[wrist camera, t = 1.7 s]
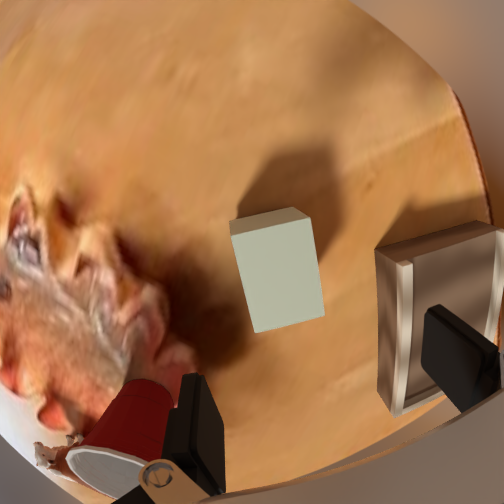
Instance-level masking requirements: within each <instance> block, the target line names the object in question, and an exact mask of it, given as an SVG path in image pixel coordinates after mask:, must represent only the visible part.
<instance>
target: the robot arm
mask: <svg viewBox="0 0 504 504" xmlns="http://www.w3.org/2000/svg"><path fill="white" fill-rule="evenodd" d="M498 348H499V347H497V346H496V345H495V344H494V343H492V342H491V341H490V340H488V339H487V338H486V337H484V336H483V335H482V334H481V333H479V332H478V331H477V330H475V329H474V328H473V327H471V326H470V325H469V324H467V323H466V322H465V321H463V320H462V319H460V318H459V317H458V316H456V315H455V314H454V313H452V312H451V311H449V310H448V309H447V308H445V307H444V306H442V305H441V304H437V305H434V306H432V307H429V308H428V309H427V312H426V313H425V314H424V328H423V341H422V352H421V366H422V368H423V370H424V371H425V372H426V373H427V374H428V375H429V376H430V377H431V379H432V380H433V381H434V382H435V383H436V384H437V385H438V387H439V388H440V389H441V390H442V391H443V392H444V393H445V395H446V396H447V397H448V398H449V399H450V400H451V401H452V402H453V404H454V405H455V406H456V407H457V408H458V409H459V411H460V412H461V414H460V415H458V416H456V417H454V418H453V419H451V420H449V421H447V422H445V423H443V424H442V425H440V426H438V427H436V428H434V429H432V430H430V431H428V432H426V433H424V434H422V435H420V436H418V437H416V438H413V439H411V440H409V441H407V442H405V443H402V444H400V445H398V446H396V447H393V448H391V449H389V450H386V451H384V452H381V453H378V454H376V455H373V456H371V457H368V458H365V459H363V460H360V461H357V462H354V463H351V464H348V465H345V466H342V467H339V468H336V469H332V470H329V471H326V472H322V473H319V474H315V475H311V476H307V477H304V478H299V479H295V480H291V481H287V482H282V483H278V484H273V485H268V486H263V487H258V488H252V489H246V490H241V491H236V492H230V493H226V480H225V447H224V424H223V420H222V418H221V415H220V413H219V411H218V409H217V406H216V404H215V401H214V399H213V397H212V394H211V392H210V390H209V387H208V385H207V382H206V380H205V377H204V376H203V375H200V376H199V374H198V373H197V372H196V373H190V374H184V375H183V377H182V382H181V388H180V394H179V400H178V406H177V408H171V409H170V411H169V414H168V420H167V425H166V431H165V436H164V442H163V448H162V454H161V459H157V460H153V461H151V462H149V463H147V464H146V465H144V466H143V467H142V469H141V470H140V472H139V475H138V480H139V483H140V484H139V485H138V486H137V487H135V488H134V489H132V490H131V491H129V492H128V493H126V494H125V495H123V496H122V497H120V498H119V499H117V500H116V501H114V502H113V503H111V504H504V350H502V352H501V353H499V352H498ZM223 493H225V494H223Z"/></svg>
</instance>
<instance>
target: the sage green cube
mask: <svg viewBox="0 0 504 504" xmlns="http://www.w3.org/2000/svg"><path fill="white" fill-rule="evenodd" d="M229 224H230V235H231V240H232V244H233V248H234V252H235V256H236V260H237V264H238V268H239V272H240V276H241V280H242V284H243V288H244V292H245V296H246V300H247V304H248V308H249V312H250V316H251V320H252V324H253V328H254V332H255V333H259V332H263V331H267V330H271V329H276V328H280V327H284V326H288V325H291V324H295V323H299V322H303V321H307V320H310V319H314V318H318V317H321V316H325V312H324V305H323V297H322V290H321V282H320V275H319V269H318V262H317V256H316V249H315V243H314V237H313V231H312V225H311V219H310V217H308V216H307V215H305V214H304V213H302V212H301V211H299V210H297V209H296V208H294V207H288V208H284V209H279V210H275V211H270V212H266V213H261V214H257V215H253V216H248V217H244V218H239V219H236V220H231V221H229Z"/></svg>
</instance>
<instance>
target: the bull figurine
mask: <svg viewBox="0 0 504 504" xmlns="http://www.w3.org/2000/svg"><path fill="white" fill-rule="evenodd" d="M77 437H78V441H77V442H76V443H74V444H73V442H74V440H72V438H71V437H70V436H66V439H67V442H68V446H60V447H58V446H57V447H53V448H52V449H50V448H49V447H47V446H43V444H42V443H41V442H35V443H34V447H35V459H36V461H37V466H39V467H40V468H46V469H48V470H49V472H51V473H52V474H53V475H55V476H58V477H63V478H65V479H67V480H70V481H73V482H76V483H79V484H81V485H84V486H86V487H88V488H90V489H92V490H94V491H96V492H98V493H101V492H99V491H98V490H96V489H94V488H93V487H91V486H90V485H88V484H87V483H85V482H84V481H82V480H81V479H80V478H79V477H78V476H77V475H76V474H75V473H74V472H73V471H72V470H71V469H70V467H69V465H68V463H67V461H66V459H65V458H66V456H67V454H68V452H69V451H70V450H71V449H72V448H74V447H76V446H78V445H79V444H81V442H82V441H83V435H81V434H77ZM72 444H73V445H72ZM101 494H103V495H105V496H108V495H106V494H104V493H101ZM108 497H110V496H108ZM110 498H112V499H115V498H113V497H110ZM115 500H117V499H115Z"/></svg>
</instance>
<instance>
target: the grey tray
mask: <svg viewBox="0 0 504 504" xmlns="http://www.w3.org/2000/svg"><path fill="white" fill-rule="evenodd" d="M374 251H375V263H376V278H377V298H378V381H377V392H378V393H379V395H380V397H381V398H382V400H383V401H384V403H385V405H386V406H387V408H388V409H389V411H390V413H391V414H392V416H393V417H394V418H396V417H398V416H400V415H403V414H405V413H407V412H409V411H412V410H414V409H416V408H418V407H420V406H422V405H424V404H427V403H429V402H431V401H433V400H435V399H437V398H439V397H440V396H442V395H444V394H445V393H444V392H443V391H442V390H441V389H440V388H439V387H438V385H437V384H436V383H435V382H434V381H433V380H432V379H431V377H430V376H429V375H428V374H427V373H426V372H425V371H424V370H423V368H422V366H421V352H422V341H423V328H424V314H425V313H426V312H427V309H428V308H429V307H432V306H434V305H437V304H441V305H442V306H444V307H445V308H447V309H448V310H449V311H451V312H452V313H454V314H455V315H456V316H458V317H459V318H460V319H462V320H463V321H465V322H466V323H467V324H469V325H470V326H471V327H473V328H474V329H475V330H477V331H478V332H479V333H481V334H482V335H483V336H484V337H486V338H487V339H488V340H490V341H491V342H492V343H493V340H494V336H495V331H496V327H497V322H498V317H499V311H500V306H501V300H502V293H503V286H504V229H501V228H498V227H496V226H493V225H490V224H487V223H484V222H480V221H477V220H476V221H473V222H470V223H466V224H463V225H459V226H456V227H453V228H449V229H446V230H442V231H439V232H435V233H432V234H428V235H424V236H421V237H417V238H414V239H410V240H406V241H403V242H399V243H395V244H392V245H388V246H384V247H381V248H377V249H374Z"/></svg>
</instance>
